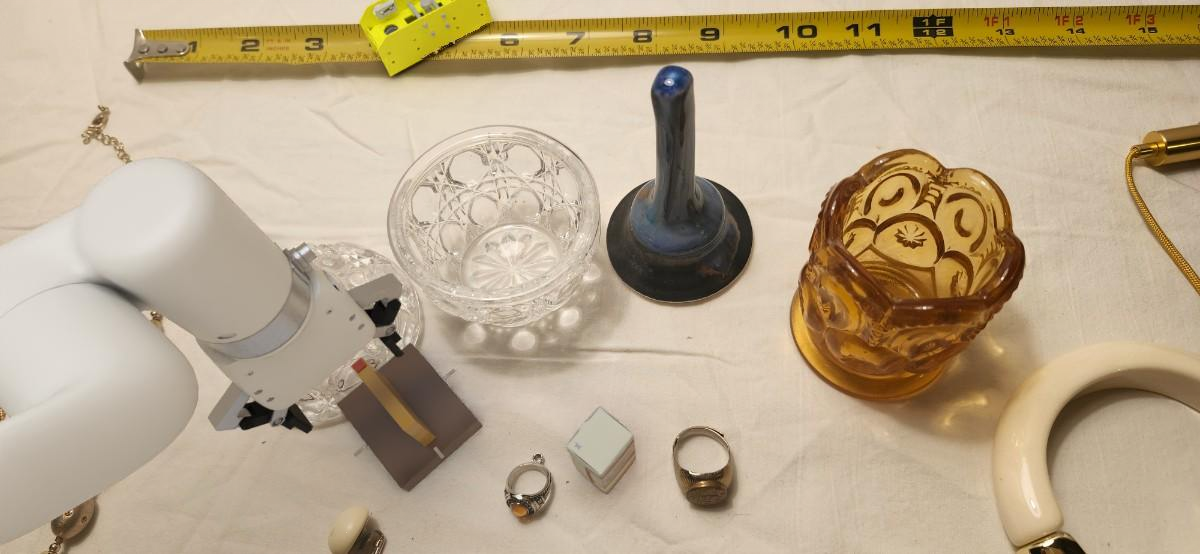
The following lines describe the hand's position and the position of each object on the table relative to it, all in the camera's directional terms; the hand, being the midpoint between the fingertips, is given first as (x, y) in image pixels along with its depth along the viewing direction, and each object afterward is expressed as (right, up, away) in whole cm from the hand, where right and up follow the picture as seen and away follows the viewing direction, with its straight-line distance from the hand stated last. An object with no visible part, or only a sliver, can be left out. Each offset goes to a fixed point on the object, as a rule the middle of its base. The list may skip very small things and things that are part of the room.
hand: (347, 381), depth 65 cm
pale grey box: (+23, -10, +11) cm, 27 cm away
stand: (+2, -6, +15) cm, 16 cm away
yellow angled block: (+2, -5, +13) cm, 14 cm away
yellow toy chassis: (-1, +42, +38) cm, 57 cm away
